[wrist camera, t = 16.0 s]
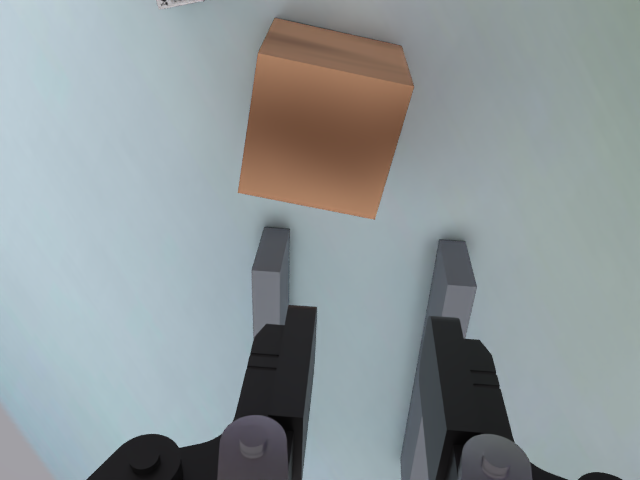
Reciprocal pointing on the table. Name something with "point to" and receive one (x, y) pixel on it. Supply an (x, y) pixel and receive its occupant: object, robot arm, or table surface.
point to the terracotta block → (324, 118)
